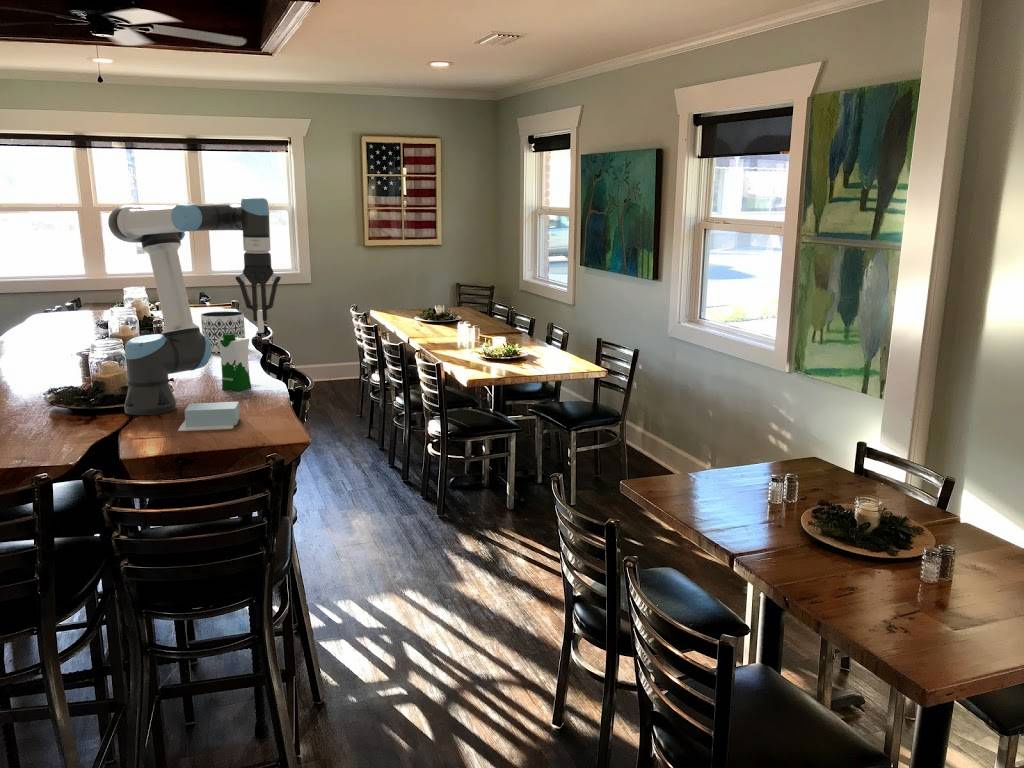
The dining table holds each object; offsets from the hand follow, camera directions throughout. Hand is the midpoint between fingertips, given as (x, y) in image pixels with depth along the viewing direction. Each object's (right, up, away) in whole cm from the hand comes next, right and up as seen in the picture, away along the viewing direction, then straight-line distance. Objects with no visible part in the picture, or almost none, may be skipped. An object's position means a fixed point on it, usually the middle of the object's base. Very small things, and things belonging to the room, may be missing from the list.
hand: (261, 332), depth 240 cm
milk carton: (-23, -17, +46) cm, 55 cm away
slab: (-7, -24, +1) cm, 25 cm away
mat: (-15, -27, 0) cm, 31 cm away
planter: (-56, 0, +126) cm, 137 cm away
